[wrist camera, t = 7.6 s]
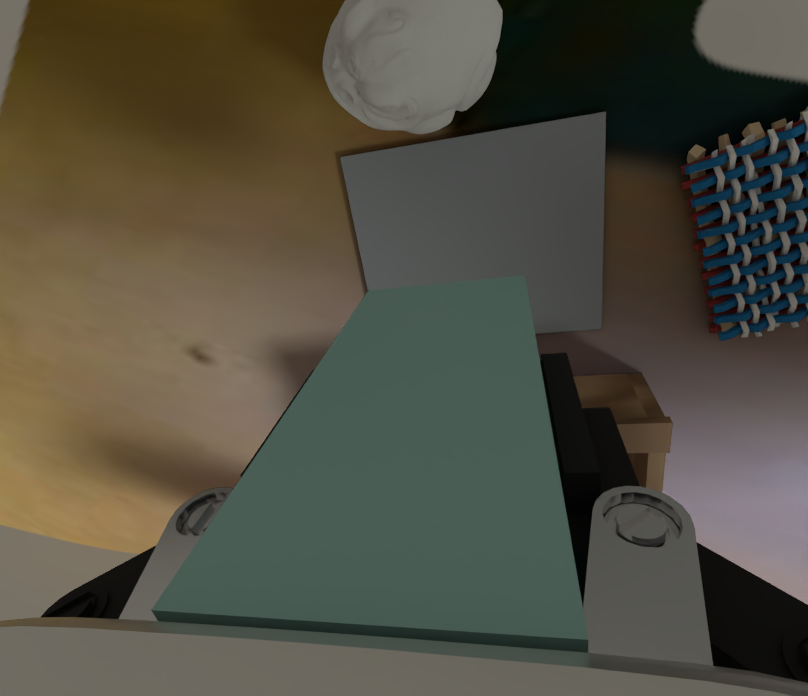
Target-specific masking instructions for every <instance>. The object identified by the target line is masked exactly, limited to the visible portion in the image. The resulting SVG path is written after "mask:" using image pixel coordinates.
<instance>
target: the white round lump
mask: <svg viewBox="0 0 808 696" xmlns="http://www.w3.org/2000/svg"><path fill="white" fill-rule="evenodd" d="M502 11H503V10H502V9H501V7H500V5H499V3H498V1H497V0H345V2H344V3H343V5H342V6H341V8H340V10H339V13H338V15H337V16H336V18H335V19H334V21H333V23H332V25H331V28H330V30H329V34H328V37H327V40H326V43H325V49H324V55H323V73H324V78H325V81H326V83H327V86H328V89H329V91H330V92H331V94H332V96H333V98H334V99H335V100H336V101H337V102H338V104H339V105H341V106H342V107H343V108H344V109H345V110H346V111H347V112H349V113H350V114H351V115H353V116H354V117H356V118H357V119H358V120H359V121H361V122H362V123H364V124H366V125H367V126H369V127H372V128H374V129H379V130H387V131H389V130H391V131H393V130H404V131H406V132H409V133H413V134H426V133H431V132H434V131H437V130H439V129H441V128H443V127H445V126H447V125H448V124H449V123H451V121H452V119H453V117H454V113H455V111H456V110H458V111H465V110H467V109H468V108H469V107H471V106H472V105H473V104H474V103H475V102H476V101H477V100H478V99H479V98H480V97H481V96H482V95H483V93H484V92H485V90H486V89H487V87H488V85H489V83H490V81H491V78H492V75H493V72H494V68H495V64H496V49H497V46H498V43H499V39H500V33H501V27H502Z"/></svg>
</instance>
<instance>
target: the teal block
mask: <svg viewBox="0 0 808 696" xmlns="http://www.w3.org/2000/svg"><path fill="white" fill-rule="evenodd" d="M151 611H152V612H153V614H154V616H155V617H156V619H157V621H162V622H178V623H193V624H208V625H223V626H238V627H254V628H268V629H282V630H296V631H310V632H324V633H338V634H352V635H365V636H379V637H393V638H406V639H420V640H433V641H446V642H458V643H471V644H484V645H497V646H510V647H522V648H535V649H548V650H561V651H574V652H584V653H588V634H587V628H586V623H585V617H584V611H583V606H582V600H581V594H580V588H579V583H578V577H577V571H576V565H575V560H574V554H573V548H572V542H571V537H570V531H569V525H568V519H567V514H566V508H565V502H564V496H563V491H562V485H561V479H560V473H559V468H558V462H557V456H556V450H555V445H554V439H553V433H552V428H551V422H550V416H549V410H548V405H547V399H546V393H545V387H544V382H543V376H542V370H541V364H540V359H539V353H538V347H537V341H536V336H535V330H534V324H533V318H532V313H531V307H530V301H529V295H528V290H527V284H526V278H525V275H519V276H509V277H499V278H489V279H480V280H470V281H460V282H450V283H440V284H430V285H420V286H410V287H400V288H390V289H380V290H370V291H368V292H367V293H366V295H365V296H364V298H363V299H362V301H361V302H360V304H359V305H358V307H357V308H356V310H355V311H354V312H353V314H352V315H351V317H350V318H349V320H348V321H347V323H346V324H345V326H344V327H343V329H342V330H341V332H340V333H339V335H338V336H337V337H336V339H335V340H334V342H333V343H332V345H331V346H330V348H329V349H328V351H327V352H326V354H325V355H324V357H323V358H322V360H321V361H320V363H319V364H318V365H317V367H316V368H315V370H314V371H313V373H312V374H311V376H310V377H309V379H308V380H307V382H306V383H305V385H304V386H303V388H302V389H301V390H300V392H299V393H298V395H297V396H296V398H295V399H294V401H293V402H292V404H291V405H290V407H289V408H288V410H287V411H286V413H285V414H284V415H283V417H282V418H281V420H280V421H279V423H278V424H277V426H276V427H275V429H274V430H273V432H272V433H271V435H270V436H269V438H268V439H267V440H266V442H265V443H264V445H263V446H262V448H261V449H260V451H259V452H258V454H257V455H256V457H255V458H254V460H253V461H252V463H251V464H250V465H249V467H248V468H247V470H246V471H245V473H244V474H243V476H242V477H241V479H240V480H239V482H238V483H237V485H236V486H235V488H234V489H233V490H232V492H231V493H230V495H229V496H228V498H227V499H226V501H225V502H224V504H223V505H222V507H221V508H220V510H219V511H218V513H217V514H216V515H215V517H214V518H213V520H212V521H211V523H210V524H209V526H208V527H207V529H206V530H205V532H204V533H203V535H202V536H201V538H200V539H199V540H198V542H197V543H196V545H195V546H194V548H193V549H192V551H191V552H190V554H189V555H188V557H187V558H186V560H185V561H184V563H183V564H182V565H181V567H180V568H179V570H178V571H177V573H176V574H175V576H174V577H173V579H172V580H171V582H170V583H169V585H168V586H167V588H166V589H165V590H164V592H163V593H162V595H161V596H160V598H159V599H158V601H157V602H156V604H155V605H154V607H153V608H152V610H151Z"/></svg>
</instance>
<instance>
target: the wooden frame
mask: <svg viewBox="0 0 808 696" xmlns="http://www.w3.org/2000/svg"><path fill="white" fill-rule="evenodd" d="M573 377H574V381H575V384H576V388H577V391H578V395H579V398H580V402H581V405H582V408H599V407H609V408H610V409H611V411H612V414H613V416H614V419H615V422H616V424H617V427H618V430H619V432H620V435H621V437H622V440H623V443H624V445H625V448H626V451H627V453H628V456H629V459H630V461H631V464H632V466H633V469H634V472H635V474H636V477H637V480H638V482H639V485H640V486H641V487H645V488H649V489H653V490H657V491H659V492H661V493H662V487H663V477H664V466H665V456H666V453H670V444H671V434H672V424H673V423H672V421H671V419H670V417H665V416H664V414H663V412H662V410H661V408H660V406H659V405H658V403H657V401H656V399H655V397H654V395H653V393H652V392H651V390H650V388H649V386H648V384H647V382H646V380H645V379H644V377H643V375H642V373H627V374H607V375H587V376H573Z"/></svg>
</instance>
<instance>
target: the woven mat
mask: <svg viewBox="0 0 808 696" xmlns="http://www.w3.org/2000/svg"><path fill="white" fill-rule="evenodd" d="M771 126H772V129H770V130H767V131H768V132H765V133H764V131H763V129H762V127H761V124H760V122H756V123H751V124H748V126H747V127H746V128H745V129H744V130H743V131H742V132H741V133H742V134H743V136H744V138H745V139H744V140H742V141H741V142H739V143H738V144H736V145H734V146H732V145H731V143H730V139H729V136H728V134H725V135H722V136H720V137H719V152H718V149H717V150H715V151H714V152H712V154H711V155H709V156H706V157H705V152H706V149H705V148H703V147H701V146H699V145H697V144H696V145H695V146H694V147H693V148H692V149H691V150H690V151H689V152H688V156H687V162H688V164H686V165H684V166H681V167H680V168H681V172H682V174H686V175H688V174H690V179H691V180H688V181H685V182H682V183H681V186H682V190H686V189H689V188H691V190H692V193H693V196H691V197H688V198H686V200H687V205H688V206H692V207H696V212H695V213H692V214H690V219H691V221H692V222H696V221H697V222H698V226H699V228H697V229H694V230H693V232H694V236H695V237H696V238H697V237H698V239H702V240H700V241H699V242H697V243H695V244H694V245H693V246H694V251H701V250H702V249H703V254H704V256H705V257H704V258H701V259H698V260H699V265H700V266H701V267H704V268H706V269H707V270H708V271H706V272H703V273H701V277H702V280H703V281H704V280H709V286H706V287H704V291H705V293H706V294H707V295H708V294H709V297H713V299H711V300H708V301H706V305H707V307H708V308H709V309H710V308H713V307H714V312H715V313H712V314H709V319H710V321H711V322H713V321H714V324H713V325H711V326H710V327H709V331H710V333H714V334H715V333H716V332H718V331H719V330H721V332H719V333H718V334H719V339H720V341H722V340H726V339H731V338H733V337H735V336H737V335H739V334H741V333H742V336H741V338H743V337H748V334H749V332H754V333H755V335H756V337H760V336H762V334H761V332H760V331H762V330H764V329H765V328H767V327H768V329H767V331H774V327H780V323H786V322H790V323H791V326H792V328H795V327H799V325H798V322H799V321H800V320H801V319H803V318H804V317H805V316H807V315H808V107H807V108H806V110H804V111H802V112H800V119H799V121H797V122H794V123H793V121H791V122H789V123H788V124H787V123H786V119H785V118H784V119H781V120H779V121H776V122H774V123H771ZM803 133H805V136H802V137H799V138H798V139H796V140H795V139H794V138H795V137H797V136H799V135H801V134H803ZM768 145H770V148H769V152H766V153H764V150H765V147H766V146H768ZM801 152H803V158H800V159H798V157H799V154H800V153H801ZM739 156H742V160H741V162H739V163H736V157H739ZM735 163H736V164H735ZM768 165H770V167H771V169H769V170H766V171H764V167H763V166H768ZM709 168H713V169H714V172H712V173H709V174H706V173H705V170H706V169H709ZM804 170H805V174H804V175H801V176H799V175H798V174H799V173H802V172H803V171H804ZM745 173H746V175H745V178H743V179H740V180H738V179H737V178H738V177H740V176H741V175H743V174H745ZM773 180H774V182H773V185H772V186H769V187H766V184H767V183H769V182H771V181H773ZM716 183H717V188H714V189H711V190H709V191H708V187H709V186H711V185H714V184H716ZM803 188H806V190H804V191H802V189H803ZM743 191H747V193H743ZM769 200H773V201H772V202H770V203H768V201H769ZM718 201H719V202H718ZM714 202H718V203H717V204H715V205H713V206H711V203H714ZM749 207H751V209H750V211H747V212H744V211H745V210H746V209H747V208H749ZM806 207H807V208H806ZM804 208H806V209H804ZM777 214H778V216H777V218H776V219H773V220H771V219H770V218H771V217H773V216H775V215H777ZM721 216H723V220H720V221H717V222H714V219H717V218H719V217H721ZM748 224H750V227H747V228H745V226H746V225H748ZM781 246H783V247H782V248H781V249H778V250H776V249H777V248H779V247H781ZM727 247H728V250H725V251H722V252H721V250H723V249H725V248H727ZM777 264H779V265H777ZM723 265H726V266H723ZM722 266H723V267H722ZM732 277H733V278H732ZM784 277H785V278H784ZM730 278H732V279H730ZM727 279H729V280H727ZM725 280H726V281H725ZM737 305H738V306H737ZM789 305H790V307H787V306H789ZM735 306H736V307H735ZM785 307H787V308H785ZM806 320H807V323H808V316H807V319H806Z"/></svg>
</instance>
